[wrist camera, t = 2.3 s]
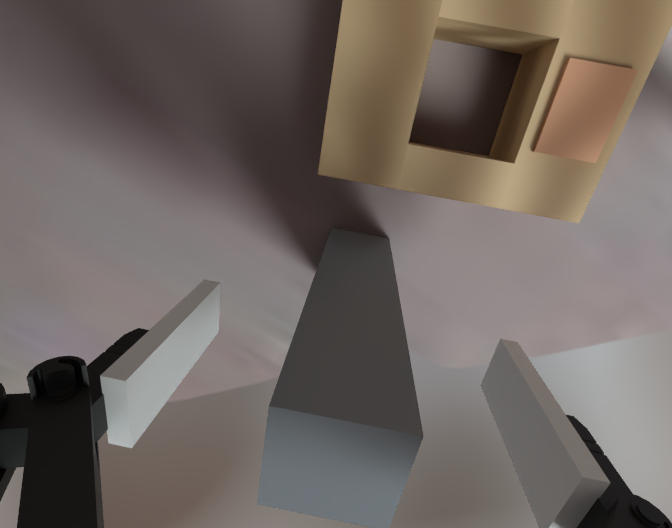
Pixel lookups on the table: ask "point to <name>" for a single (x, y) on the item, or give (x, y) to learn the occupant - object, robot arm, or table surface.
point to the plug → (344, 393)
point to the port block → (521, 107)
